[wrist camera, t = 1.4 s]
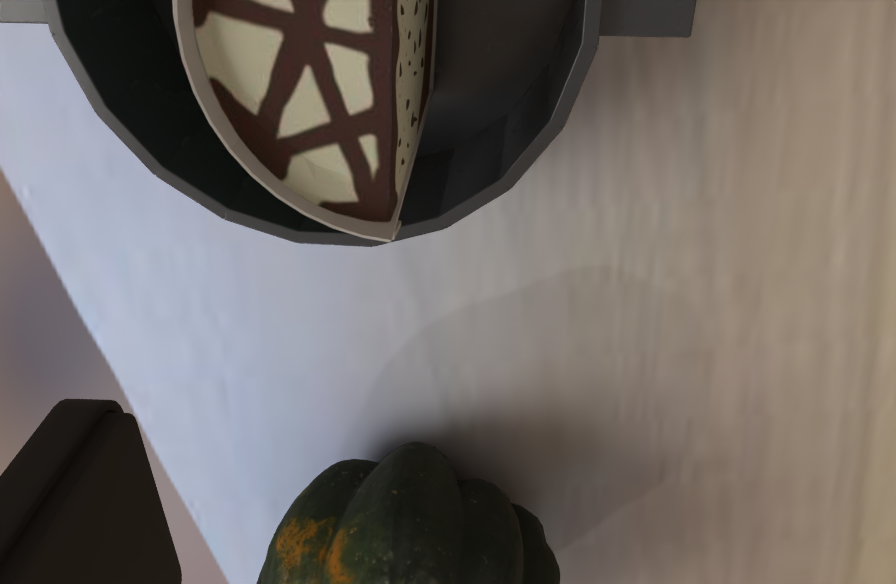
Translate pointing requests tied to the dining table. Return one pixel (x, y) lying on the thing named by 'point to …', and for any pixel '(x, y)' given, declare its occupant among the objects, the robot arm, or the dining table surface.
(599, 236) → the dining table surface
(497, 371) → the dining table surface
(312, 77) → the food container
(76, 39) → the pot
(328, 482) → the squash
